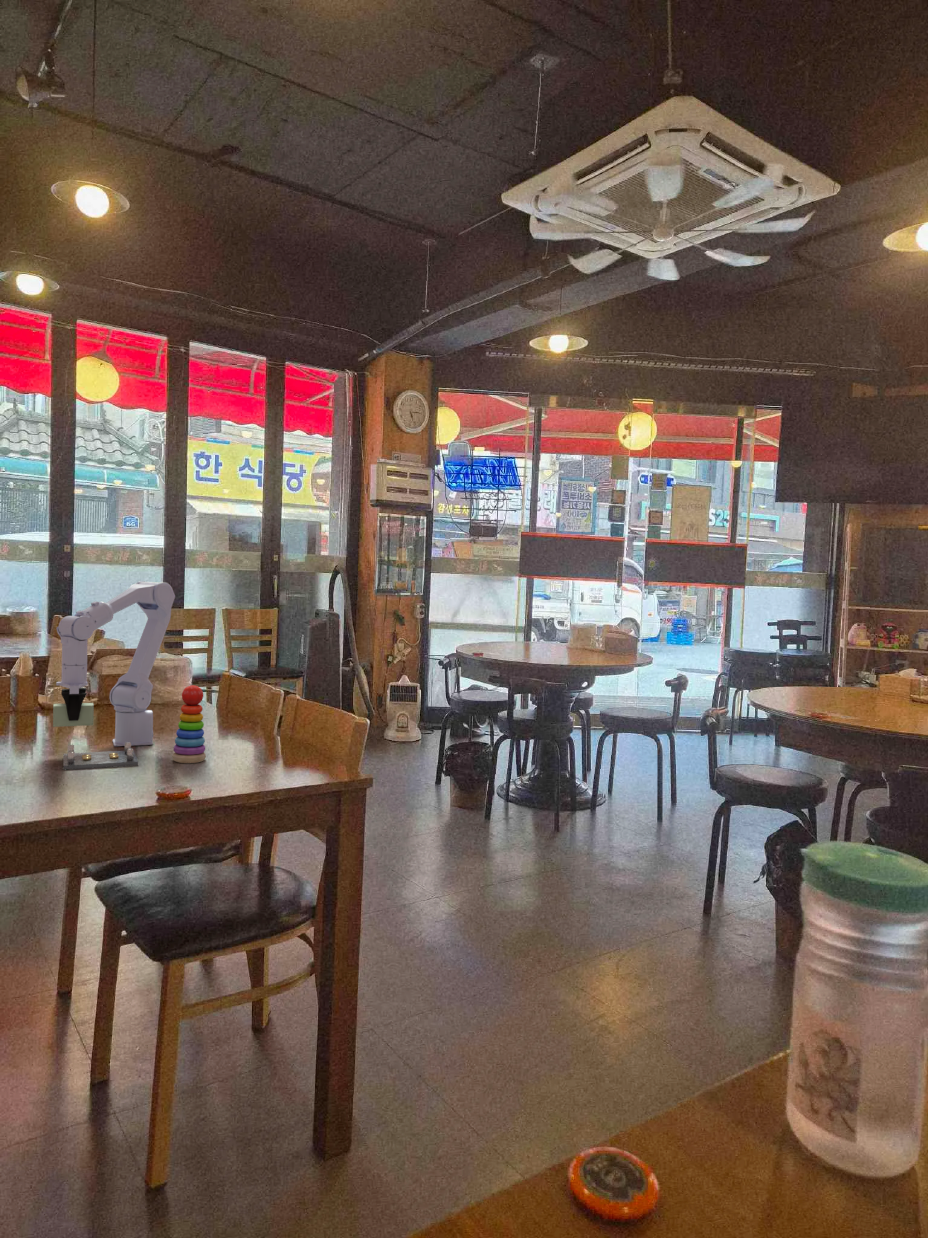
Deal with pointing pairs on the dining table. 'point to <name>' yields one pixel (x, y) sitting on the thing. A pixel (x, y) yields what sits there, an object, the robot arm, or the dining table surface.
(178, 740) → the stacking toy
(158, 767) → the dining table surface
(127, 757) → the plate
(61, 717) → the block
